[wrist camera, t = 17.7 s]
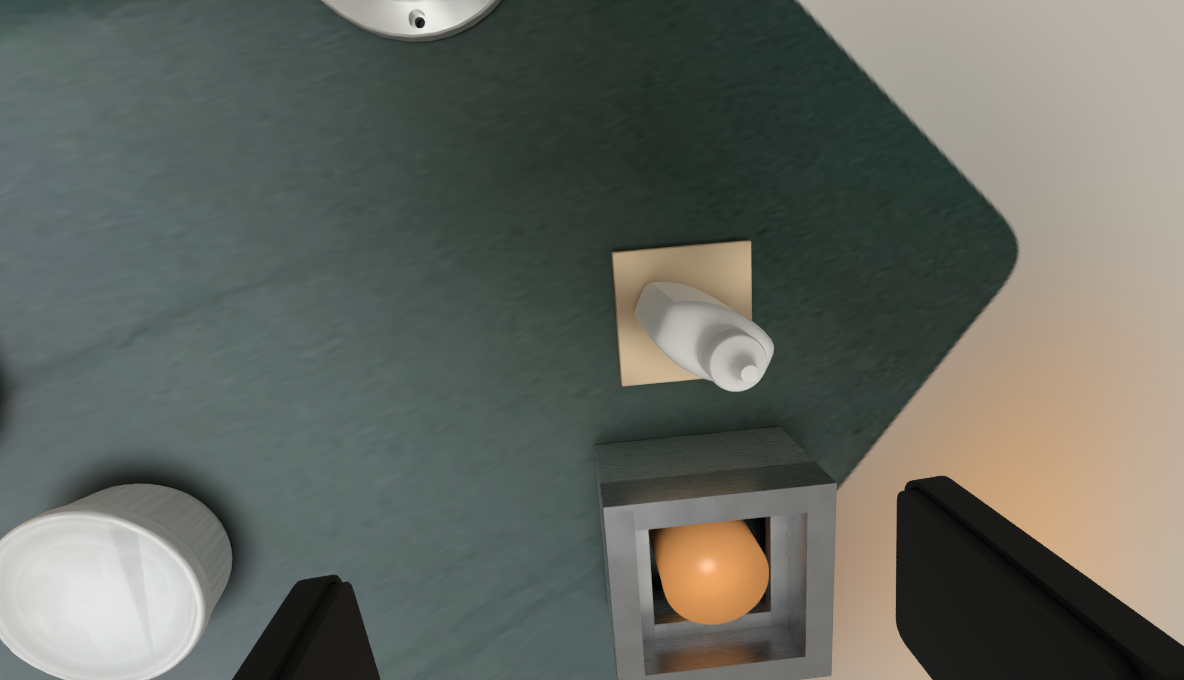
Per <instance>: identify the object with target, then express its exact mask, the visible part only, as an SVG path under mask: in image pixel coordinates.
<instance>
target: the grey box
mask: <svg viewBox="0 0 1184 680" xmlns="http://www.w3.org/2000/svg"><path fill="white" fill-rule="evenodd" d="M594 452H595V463H596V475H597V486H598V498H599V509H600V521H601V532H602V544H603V555H604V566H605V578H606V589H607V601H608V610H609V618H610V626H611V634H612V642H613V650H614V658H615V666H616V674H617V680H799V679H809V678H817V677H824V676H831V669H832V632H833V596H834V560H835V523H836V489H837V483H836V482H835V481H834V480H833V479H832V478H831V477H830V476H829V475H828V474H827V473H826V472H825V471H824V470H823V469H822V468H821V467H820V466H819V465H818V464H817V463H816V462H815V461H814V460H813V459H812V458H811V457H810V456H809V455H808V454H807V453H806V452H805V451H804V450H803V449H802V448H801V447H800V446H799V445H798V444H797V443H796V442H795V441H794V440H793V439H792V438H791V437H790V436H789V435H788V434H787V433H786V432H785V431H784V430H783V429H782V428H781V427H780V426H777V427H767V428H758V429H748V430H738V431H728V432H718V433H708V434H698V435H688V436H679V437H669V438H659V439H649V440H639V441H629V442H619V443H610V444H600V445H594ZM760 517H765V557H766V559H767V562H768V567H769V580H768V584H767V587H766V590H765V592H764V594H763V596H762V598H761V599H760V601H759V602H758V603H757V604H756V605H755V606H754V607H753V608H752V609H751V610H750V611H749V612H747V613H746V614H745V615H743V616H741V617H739V618H737V619H735V620H733V621H730V622H726V623H722V624H712V625H710V624H700V623H696V622H693V621H690V620H688V619H686V618H684V617H682V616H681V615H679V614H678V613H677V612H676V611H675V610H674V609H673V608H672V607H671V605H670V604H669V602H668V600H667V598H666V596H665V593H664V589H663V587H662V588H653V589H652V579H651V564H650V548H649V533H648V530H649V529H658V528H667V527H676V526H686V525H695V524H704V523H714V522H723V521H732V520H741V519H751V518H760Z"/></svg>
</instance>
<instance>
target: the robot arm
mask: <svg viewBox="0 0 1184 680" xmlns="http://www.w3.org/2000/svg"><path fill="white" fill-rule="evenodd" d="M321 1H322V2H324V3H325V4H326V5H327V6H328V7H330V8H331V9H332V10H333V11H334V12H335V13H337V14H338V15H339V16H341V17H343V18H344V19H346V20H347V21H349V22H351V23H352V24H354V25H355V26H357V27H359V28H360V29H363V30H365V31H368V32H370V33H373V34H376V35H378V36H381V37H383V38H389V39H394V40H400V41H405V42H420V41H433V40H437V39H442V38H446V37H450V36H453V35H455V34H458V33H460V32H462V31H464V30H466V29H468V28H470V27H472V26H474V25H475V24H476V23H478V22H479V21H480V20H482V19H483V18H484V17H486V16H487V15H488V14H490V13H491V12H492V11H493V10H494V8H495V7H496V6H497V5H498V4H499V3H500V2H501V0H321ZM419 20H424V21H425V25H424V27H423V28H417V22H418V21H419ZM896 544H897V546H896V547H897V548H896V624H897V628H898V631H899V634H900V636H901V638H902V640H903V642H904V643H905V645H906V646H907V647H908V649H909V650H910V651H911V652H912V654H913V655H914V656H915V658H916V659H917V660H918V662H919V663H920V664H921V665H922V667H923V668H924V669H925V670H926V672H927V673H928V674H929V676H930V677H931V678H932V679H933V680H1184V646H1183V645H1181V644H1180V643H1178V642H1177V641H1176V640H1174V639H1173V638H1171V637H1170V636H1169V635H1167V634H1166V633H1165V632H1163V631H1162V630H1160V629H1159V628H1158V627H1156V626H1154V625H1153V624H1152V623H1151V622H1149V621H1148V620H1146V619H1145V618H1144V617H1142V616H1141V615H1139V614H1138V613H1137V612H1135V611H1134V610H1133V609H1131V608H1130V607H1128V606H1127V605H1126V604H1124V603H1123V602H1121V601H1120V600H1119V599H1117V598H1116V597H1114V596H1113V595H1112V594H1110V593H1109V592H1107V591H1106V590H1105V589H1103V588H1102V587H1101V586H1099V585H1098V584H1096V583H1095V582H1094V581H1092V580H1091V579H1089V578H1088V577H1087V576H1085V575H1084V574H1082V573H1081V572H1079V571H1078V570H1077V569H1075V568H1074V567H1073V566H1071V565H1070V564H1069V563H1067V562H1066V561H1064V560H1063V559H1062V558H1060V557H1059V556H1057V555H1056V554H1054V553H1053V552H1052V551H1050V550H1049V549H1048V548H1046V547H1045V546H1043V545H1042V544H1041V543H1039V542H1038V541H1037V540H1035V539H1034V538H1032V537H1031V536H1030V535H1028V534H1027V533H1025V532H1024V531H1022V530H1021V529H1020V528H1018V527H1017V526H1016V525H1014V524H1013V523H1011V522H1010V521H1009V520H1007V519H1006V518H1004V517H1003V516H1001V515H1000V514H999V513H998V512H996V511H995V510H993V509H992V508H991V507H989V506H988V505H986V504H985V503H984V502H982V501H981V500H979V499H978V498H977V497H975V496H974V495H972V494H971V493H970V492H968V491H967V490H966V489H964V488H963V487H961V486H960V485H959V484H957V483H956V482H954V481H953V480H952V479H950V478H948V477H946V476H936V477H930V478H924V479H918V480H912V481H909V482H908V483H907V484H906V486H905V490H904V491H901V492H899V494H898V496H897V543H896ZM232 680H380V677H379V673H378V670H377V667H376V663H375V660H374V657H373V653H372V650H371V647H370V643H369V640H368V637H367V633H366V630H365V627H364V623H363V620H362V617H361V613H360V610H359V607H358V603H357V600H356V597H355V593H354V590H353V588H352V585H351V584H350V583H349V582H342V581H341V579H340V578H339V577H338V576H337V575H328V576H322V577H316V578H310V579H304V580H300V581H298V582H297V583H296V584H295V585H294V586H293V588H292V589H291V591H290V592H289V594H288V596H287V597H286V599H285V600H284V602H283V603H282V605H281V606H280V608H279V609H278V611H277V612H276V614H275V615H274V617H273V618H272V620H271V621H270V623H269V624H268V626H267V627H266V629H265V630H264V632H263V634H262V635H261V637H260V638H259V640H258V641H257V643H256V644H255V646H254V647H253V649H252V650H251V652H250V653H249V655H248V656H247V658H246V659H245V661H244V662H243V664H242V665H241V667H240V668H239V670H238V672H237V673H236V675H235V676H234V678H233V679H232Z"/></svg>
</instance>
